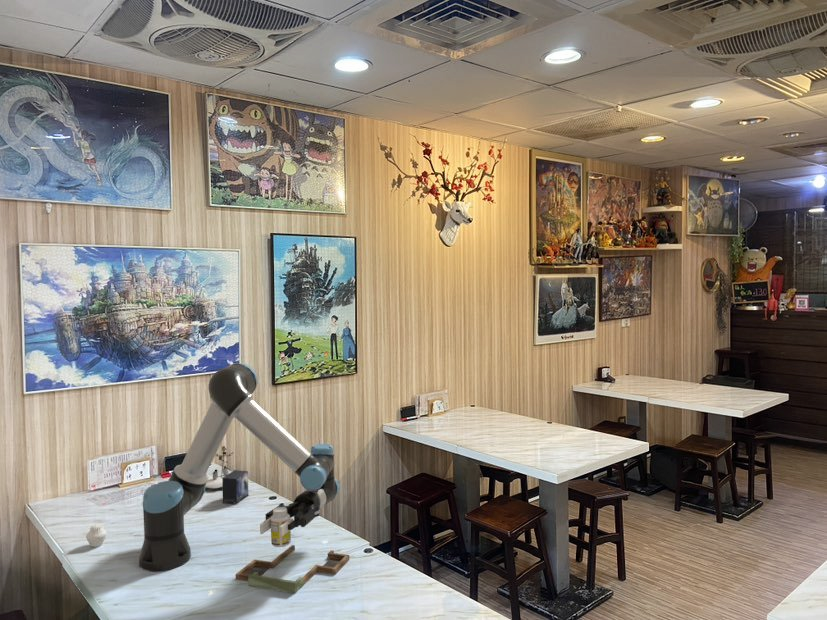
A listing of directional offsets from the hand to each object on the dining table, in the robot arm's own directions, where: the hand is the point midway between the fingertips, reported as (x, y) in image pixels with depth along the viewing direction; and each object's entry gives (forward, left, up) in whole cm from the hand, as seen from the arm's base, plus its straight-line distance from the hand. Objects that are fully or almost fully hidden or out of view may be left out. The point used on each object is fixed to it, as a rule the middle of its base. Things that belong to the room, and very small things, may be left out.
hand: (270, 530), depth 173 cm
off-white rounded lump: (-49, +55, -17) cm, 75 cm away
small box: (-1, +80, -17) cm, 82 cm away
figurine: (-4, +103, -17) cm, 104 cm away
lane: (+8, +10, -17) cm, 21 cm away
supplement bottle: (+3, +4, -6) cm, 8 cm away
